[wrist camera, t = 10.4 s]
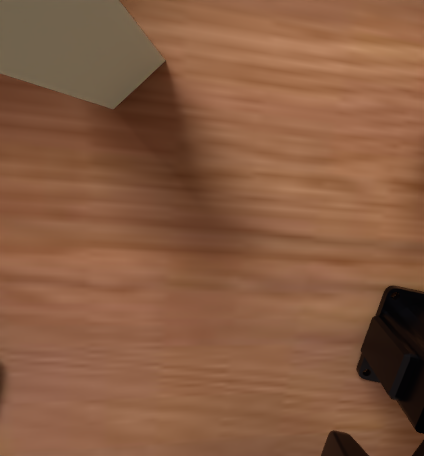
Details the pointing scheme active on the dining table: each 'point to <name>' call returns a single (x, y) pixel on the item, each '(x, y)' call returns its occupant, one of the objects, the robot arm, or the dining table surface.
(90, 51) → the green post
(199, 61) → the dining table surface
